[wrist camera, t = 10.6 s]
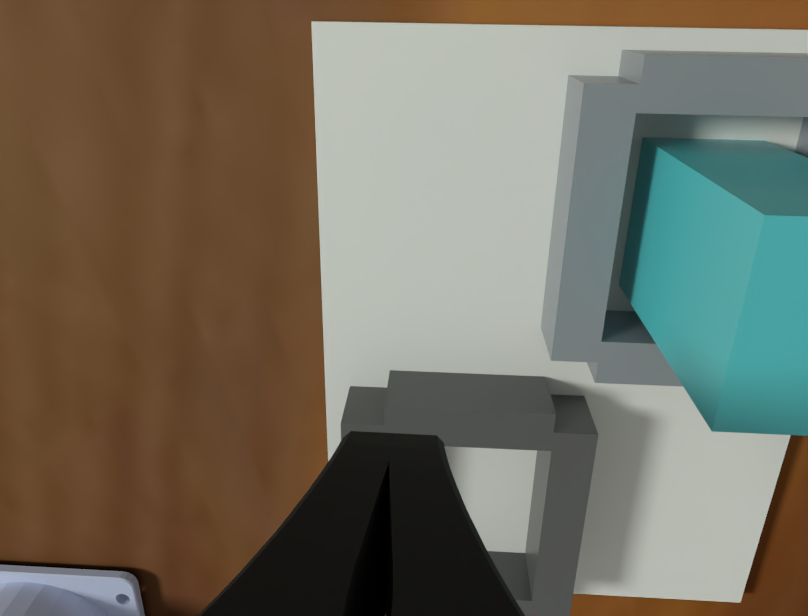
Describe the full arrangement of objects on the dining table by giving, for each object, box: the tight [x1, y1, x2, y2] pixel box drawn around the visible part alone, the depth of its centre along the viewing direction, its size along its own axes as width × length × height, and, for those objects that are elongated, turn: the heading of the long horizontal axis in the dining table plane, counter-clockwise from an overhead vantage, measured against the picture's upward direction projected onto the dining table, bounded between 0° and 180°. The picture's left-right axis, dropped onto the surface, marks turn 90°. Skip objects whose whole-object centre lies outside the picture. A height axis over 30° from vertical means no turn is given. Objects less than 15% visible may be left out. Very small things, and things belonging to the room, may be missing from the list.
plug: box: [619, 137, 808, 436], centre depth 14 cm, size 4×3×7 cm
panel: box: [312, 21, 808, 616], centre depth 19 cm, size 18×14×3 cm
